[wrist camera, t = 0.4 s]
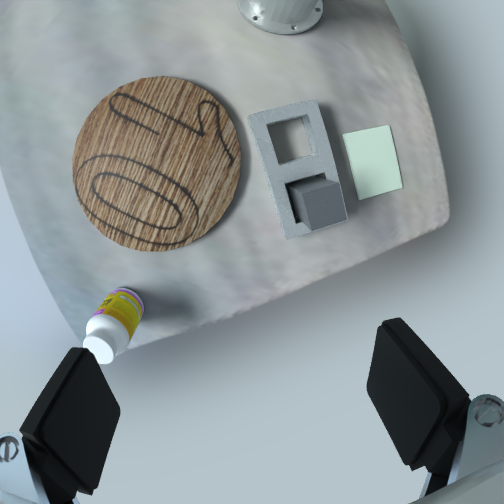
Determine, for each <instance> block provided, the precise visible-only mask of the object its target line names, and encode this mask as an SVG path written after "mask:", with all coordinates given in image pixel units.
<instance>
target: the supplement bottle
mask: <svg viewBox="0 0 504 504" xmlns="http://www.w3.org/2000/svg"><path fill="white" fill-rule="evenodd" d="M143 313H144V306H143V302H142V300H141V299H140V297H139V296H138V295H137V294H136V293H135V292H133V291H132V290H130V289H127V288H117V289H115V290H113V291H112V292H111V293H110V294H109V295H108V296H107V298H106V299H105V300H104V302H103V303H102V304H101V305H100V307H99V308H98V309H97V311H96V312H95V314H94V315H93V316H92V317H91V319H90V320H89V322H88V324H87V328H86V332H87V336H86V338H85V339H84V342H83V348H88V349H89V350H90V352H92V353H93V354H94V355H95V357H96V360H97V362H98V363H100V364H108V363H111V362H112V361H113V359H114V357H115V356H116V355H118V354H121V353H123V352H124V351H125V350H126V349H127V347H128V345H129V342H130V340H131V338H132V336H133V334H134V332H135V330H136V328H137V326H138V324H139V322H140V320H141V318H142V316H143Z"/></svg>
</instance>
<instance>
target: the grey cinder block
mask: <svg viewBox="0 0 504 504" xmlns="http://www.w3.org/2000/svg"><path fill="white" fill-rule="evenodd" d="M299 117H302V120H303V123H304V127H305V130H306V133H307V136H308V140H309V143H310V147H311V150H312V155H309V156H305V157H301V158H297V159H294V160H290V161H287V162H283V163H280V164H278V161H277V157H276V154H275V151H274V148H273V145H272V141H271V138H270V135H269V132H268V129H267V126H268V125H271V124H275V123H279V122H283V121H287V120H291V119H295V118H299ZM248 122H249V125H250V128H251V131H252V134H253V137H254V141H255V144H256V147H257V150H258V153H259V156H260V159H261V163H262V166H263V169H264V172H265V175H266V179H267V182H268V185H269V189H270V192H271V195H272V198H273V202H274V205H275V209H276V212H277V215H278V219H279V222H280V226H281V229H282V233H283V234H284V236H285V237H286V239H287V240H288V239H291V238H294V237H297V236H300V235H304V234H307V233H310V232H313V231H311V230H310V229H309V228H308V227H307V226H306V225H305V224H304V223H303V222H302V221H301V220H300V219H299V218H298V217H294V216H293V212H292V209H291V205H290V202H289V198H288V195H287V191H286V188H285V183H288V182H291V181H295V180H298V179H302V178H305V177H309V176H312V175H316V174H318V175H319V177H321V178H325V179H328V180H332V181H335V182H339V184H340V181H339V177H338V173H337V169H336V165H335V162H334V158H333V154H332V150H331V147H330V143H329V140H328V136H327V133H326V129H325V126H324V123H323V119H322V116H321V113H320V110H319V107H318V104H317V101H316V99H313V100H308V101H304V102H299V103H295V104H290V105H286V106H282V107H278V108H274V109H270V110H266V111H262V112H259V113H255V114H252V115H249V116H248ZM340 189H341V186H340ZM341 193H342V190H341ZM342 197H343V194H342ZM343 202H344V198H343ZM344 206H345V203H344ZM345 211H346V207H345ZM346 215H347V212H346ZM346 221H348V217H347V220H346ZM343 222H345V221H343ZM340 223H342V222H340ZM337 224H338V223H337ZM333 225H335V224H333ZM330 226H332V225H330ZM327 227H329V226H327ZM324 228H326V227H324ZM321 229H323V228H321ZM317 230H319V229H317ZM314 231H316V230H314Z"/></svg>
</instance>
